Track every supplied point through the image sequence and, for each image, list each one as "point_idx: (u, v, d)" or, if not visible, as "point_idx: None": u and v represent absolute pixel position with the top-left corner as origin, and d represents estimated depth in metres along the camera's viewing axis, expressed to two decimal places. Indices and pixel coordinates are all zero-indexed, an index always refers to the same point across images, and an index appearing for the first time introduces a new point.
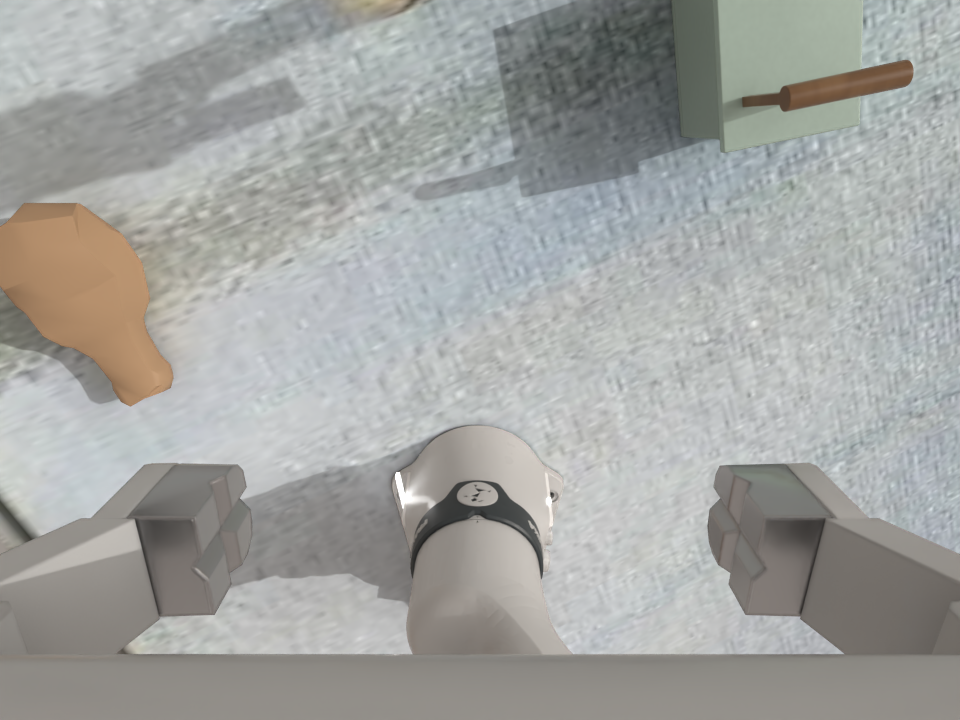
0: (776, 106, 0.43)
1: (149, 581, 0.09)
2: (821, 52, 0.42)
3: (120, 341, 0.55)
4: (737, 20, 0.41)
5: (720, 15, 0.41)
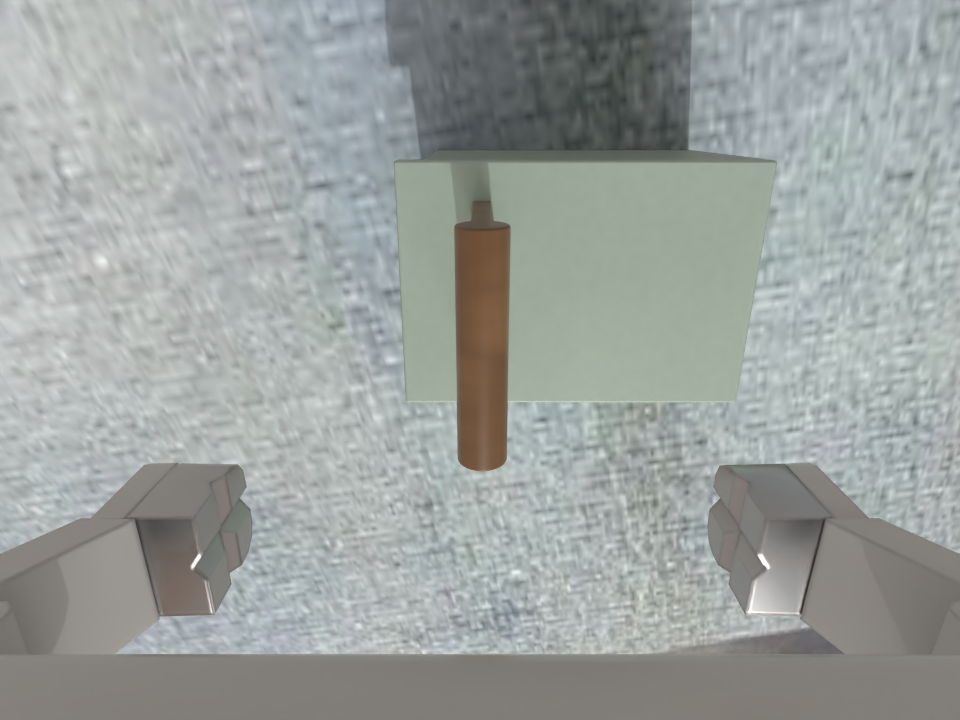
0: None
1: (149, 581, 0.09)
2: (535, 340, 0.24)
3: None
4: (623, 197, 0.22)
5: (640, 167, 0.22)
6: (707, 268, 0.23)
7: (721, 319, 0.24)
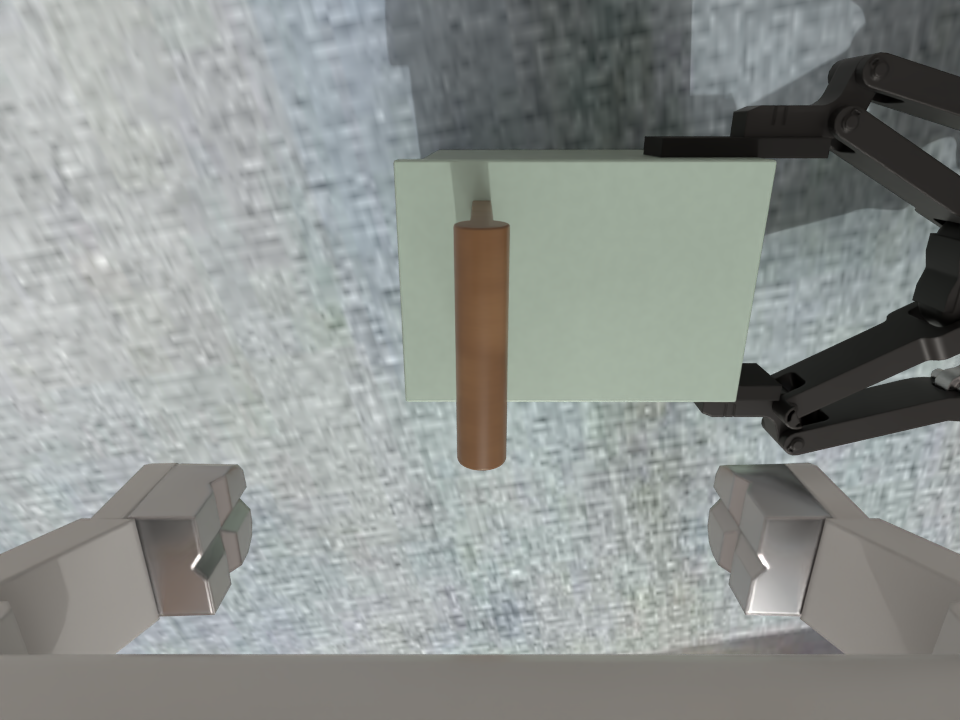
0: None
1: (149, 581, 0.09)
2: (534, 340, 0.24)
3: None
4: (623, 197, 0.22)
5: (640, 166, 0.22)
6: (707, 267, 0.23)
7: (721, 319, 0.24)
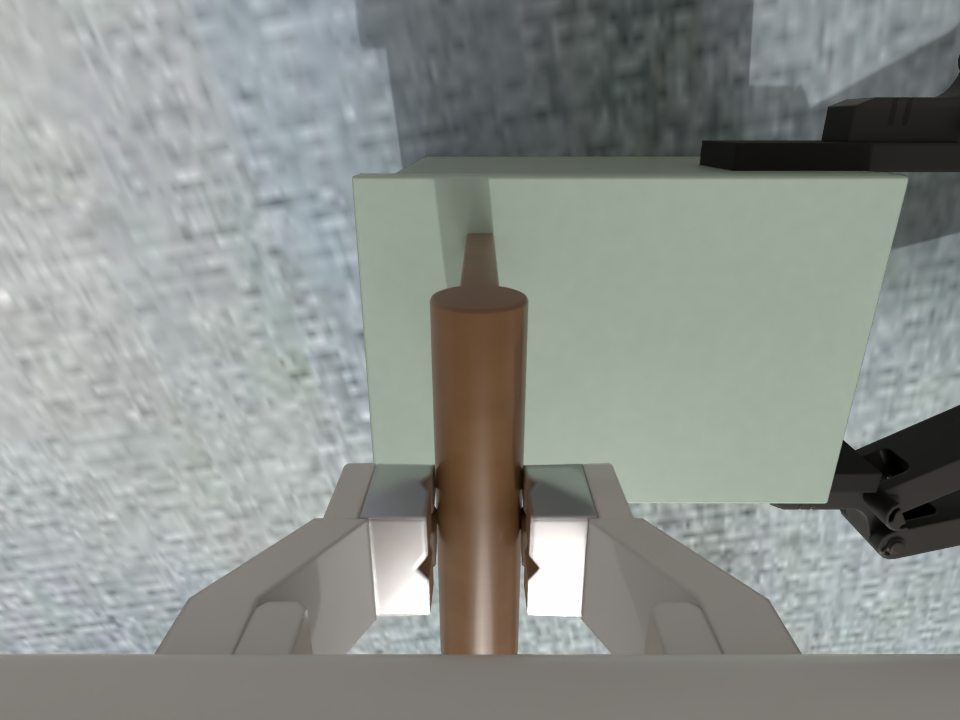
0: None
1: (373, 581, 0.09)
2: (553, 423, 0.17)
3: None
4: (684, 228, 0.15)
5: (710, 185, 0.15)
6: (799, 327, 0.16)
7: (814, 395, 0.17)
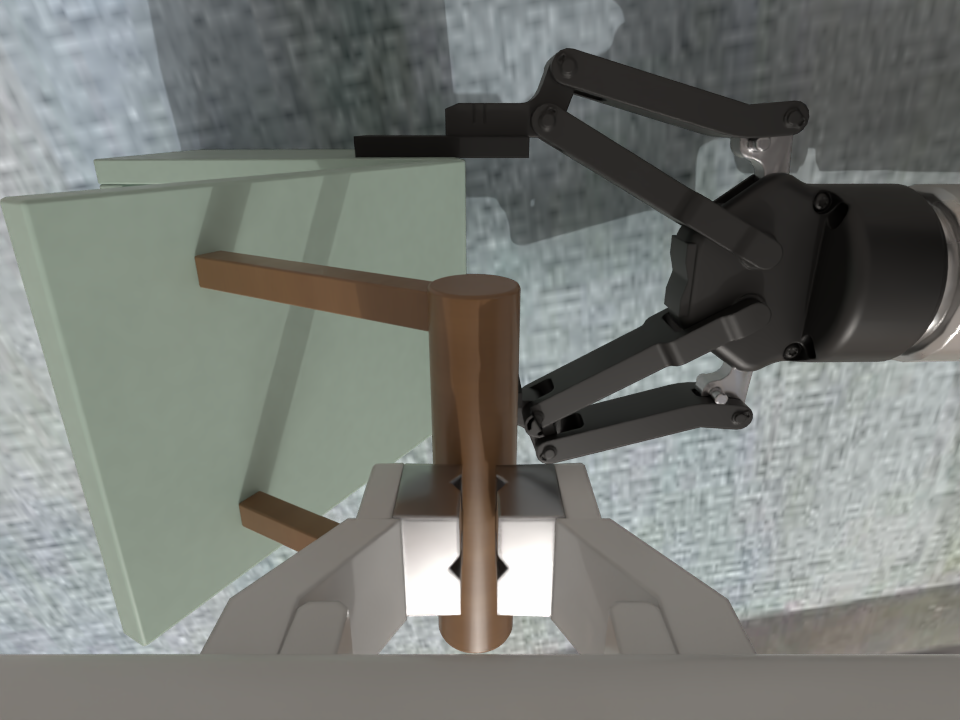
0: (196, 367, 0.13)
1: (405, 581, 0.09)
2: (308, 436, 0.17)
3: None
4: (366, 216, 0.17)
5: (376, 176, 0.17)
6: None
7: None
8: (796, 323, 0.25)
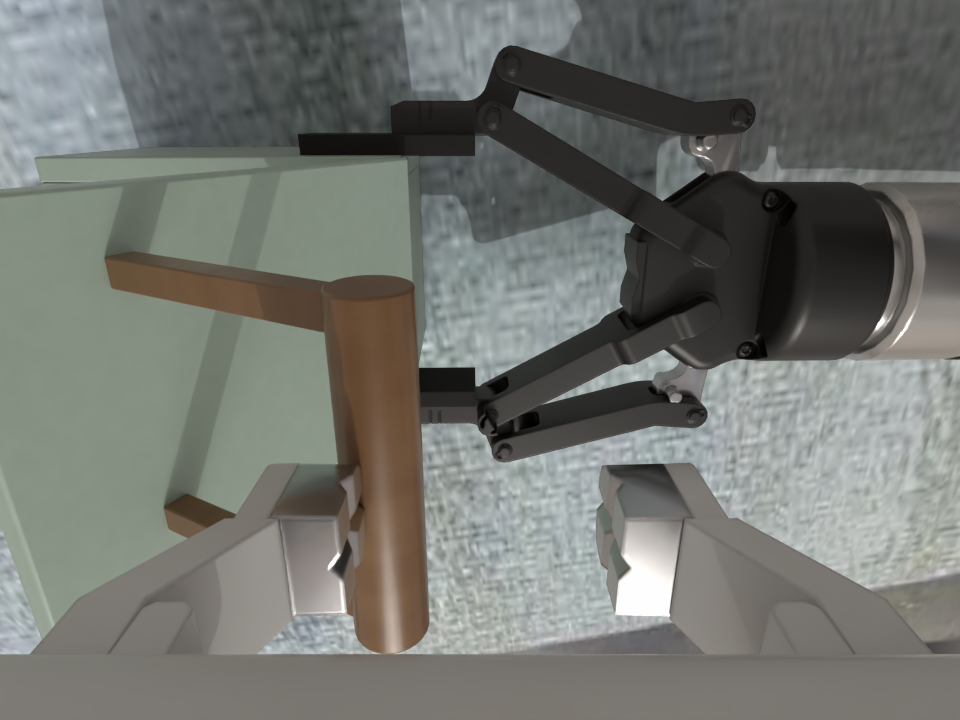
0: (110, 370, 0.13)
1: (287, 581, 0.09)
2: (240, 438, 0.16)
3: None
4: (298, 216, 0.17)
5: (307, 174, 0.17)
6: None
7: None
8: (748, 321, 0.25)
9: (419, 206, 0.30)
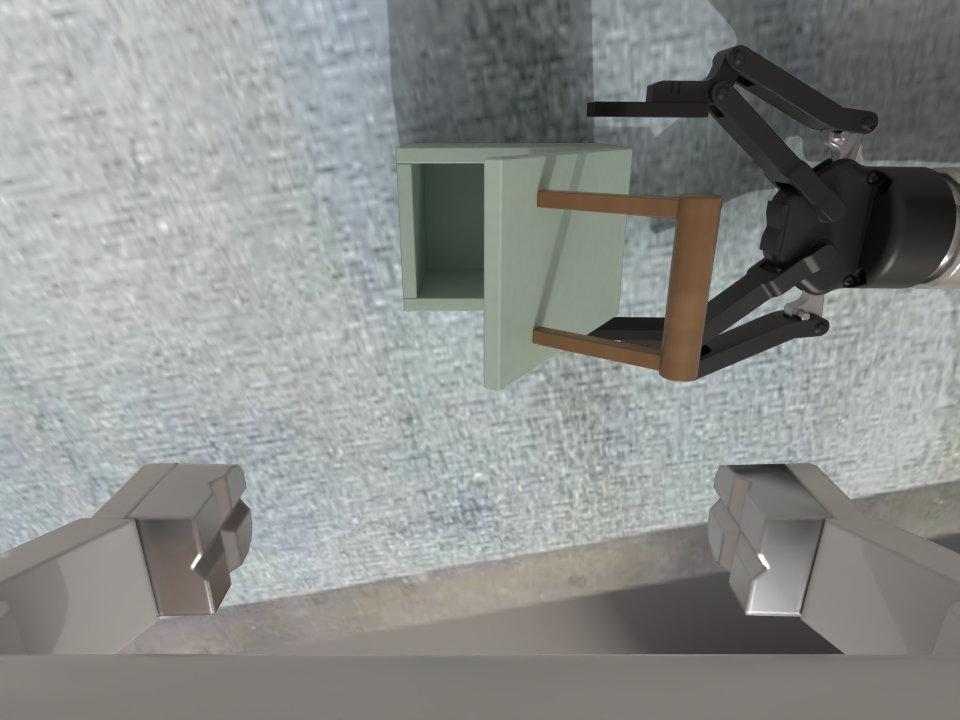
0: (530, 248, 0.26)
1: (149, 581, 0.09)
2: (557, 303, 0.29)
3: None
4: (591, 178, 0.30)
5: (597, 155, 0.30)
6: (613, 224, 0.33)
7: (616, 258, 0.35)
8: (852, 260, 0.38)
9: None
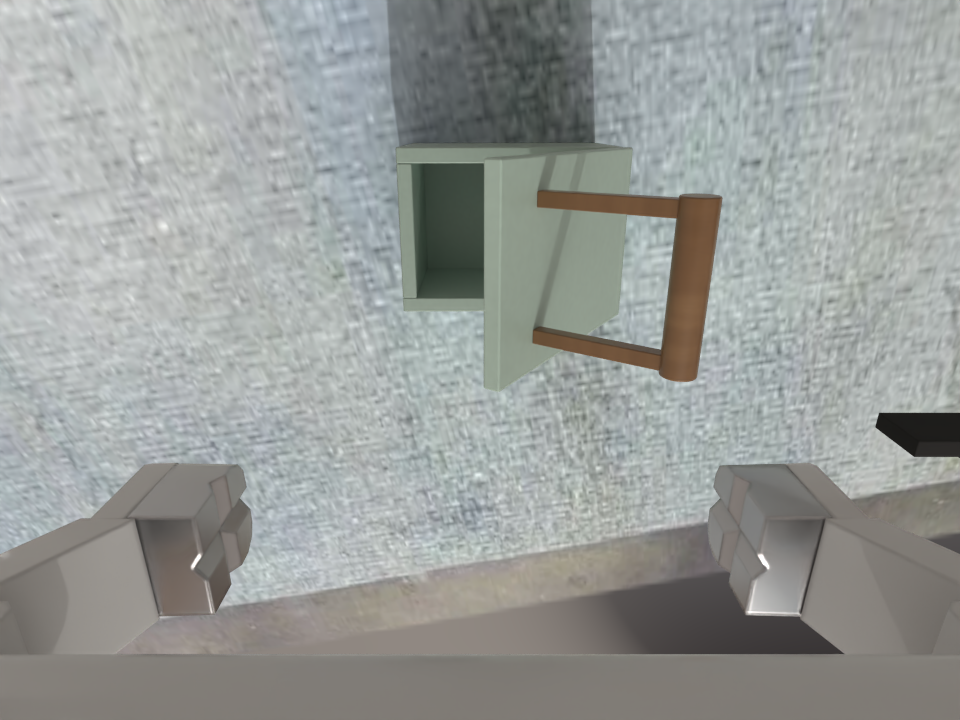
0: (530, 248, 0.26)
1: (149, 581, 0.09)
2: (557, 303, 0.29)
3: None
4: (591, 178, 0.30)
5: (597, 155, 0.30)
6: (613, 224, 0.33)
7: (616, 258, 0.35)
8: None
9: None
